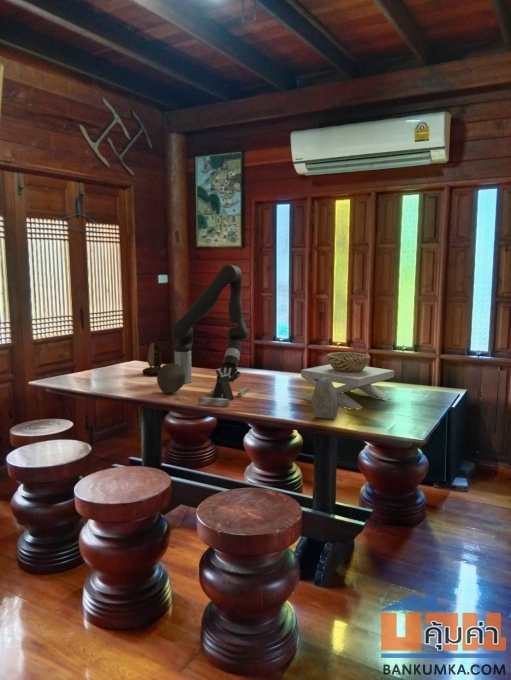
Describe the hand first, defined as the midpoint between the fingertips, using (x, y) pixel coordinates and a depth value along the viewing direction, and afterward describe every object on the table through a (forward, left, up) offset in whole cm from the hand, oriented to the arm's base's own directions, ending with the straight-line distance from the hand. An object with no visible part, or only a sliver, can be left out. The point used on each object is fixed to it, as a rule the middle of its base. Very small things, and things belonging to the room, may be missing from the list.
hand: (224, 387), depth 255 cm
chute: (0, +1, -5) cm, 5 cm away
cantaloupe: (-28, +2, -5) cm, 29 cm away
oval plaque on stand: (-57, +46, -5) cm, 73 cm away
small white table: (+58, +15, -5) cm, 60 cm away
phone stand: (0, -4, -5) cm, 6 cm away
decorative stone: (+52, -18, -5) cm, 55 cm away
